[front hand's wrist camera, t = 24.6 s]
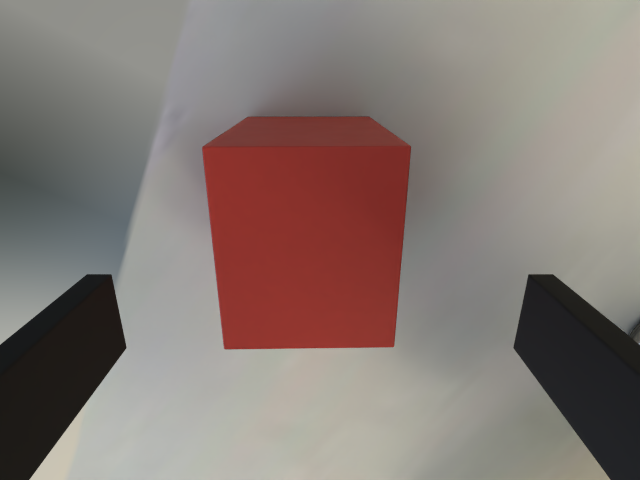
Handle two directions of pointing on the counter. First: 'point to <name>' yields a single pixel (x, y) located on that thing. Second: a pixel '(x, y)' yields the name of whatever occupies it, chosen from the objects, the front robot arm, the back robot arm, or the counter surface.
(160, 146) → the counter surface
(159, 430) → the counter surface
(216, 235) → the brick
